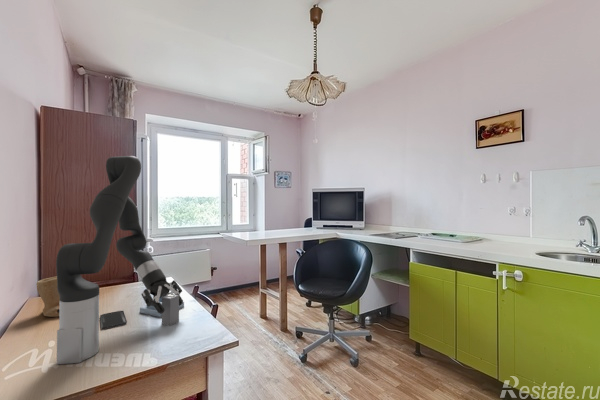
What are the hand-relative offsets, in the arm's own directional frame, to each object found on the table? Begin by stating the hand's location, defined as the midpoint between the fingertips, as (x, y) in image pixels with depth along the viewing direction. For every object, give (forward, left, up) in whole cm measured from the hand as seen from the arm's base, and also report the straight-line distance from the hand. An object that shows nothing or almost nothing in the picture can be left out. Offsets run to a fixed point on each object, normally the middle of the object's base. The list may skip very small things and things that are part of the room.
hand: (172, 308), depth 102 cm
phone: (+5, +24, -6) cm, 25 cm away
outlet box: (+14, +9, -6) cm, 18 cm away
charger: (0, +1, -6) cm, 6 cm away
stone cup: (+16, +52, -6) cm, 55 cm away
